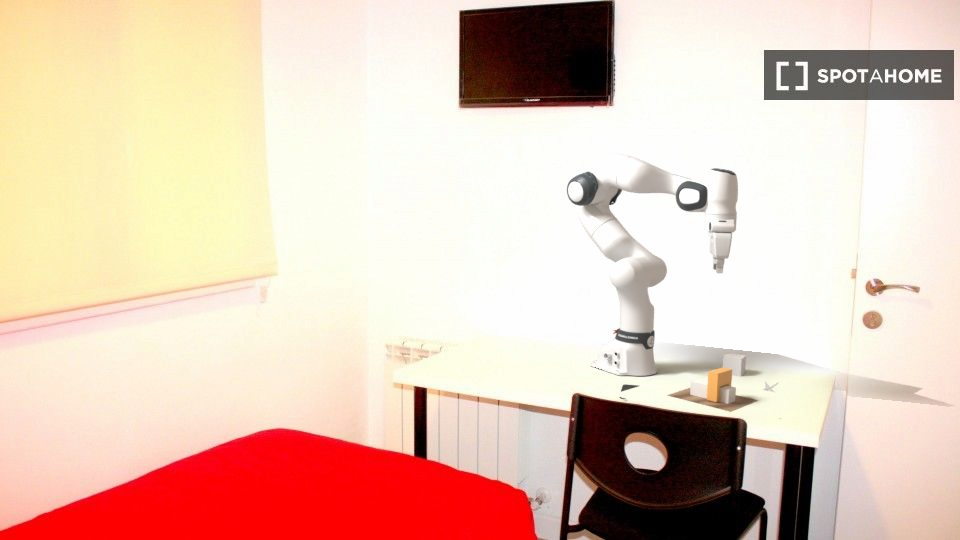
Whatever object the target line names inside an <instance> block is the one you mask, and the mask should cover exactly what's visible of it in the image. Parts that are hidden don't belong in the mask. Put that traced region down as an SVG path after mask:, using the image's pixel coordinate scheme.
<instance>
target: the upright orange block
mask: <svg viewBox="0 0 960 540" xmlns="http://www.w3.org/2000/svg"><path fill="white" fill-rule="evenodd" d="M732 380H733V375H732V369H728V368H724V367H723V366H722V367H719V368H716V369H712V370H710V371H708V372H707V381H708V387H707V400H709V401H713V402H718V401H719V395H720V387H721V386H724V385H727V386H731V387H732Z"/></svg>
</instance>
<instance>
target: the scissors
mask: <svg viewBox="0 0 960 540" xmlns="http://www.w3.org/2000/svg"><path fill="white" fill-rule="evenodd" d="M778 384H779V382H776V383H775V384H772V385H770V386H769V384H768V383H767V382H766V381H764V386H765V387H764V388H763V389H762V391H769V392H771V393H775V391H774V390H773V388H774V387H775V386H777V385H778Z"/></svg>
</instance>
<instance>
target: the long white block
mask: <svg viewBox="0 0 960 540" xmlns="http://www.w3.org/2000/svg"><path fill="white" fill-rule="evenodd" d="M707 387H708V380H705V379H701V378H700V379H699V378H696V379H694V380H691V381H690V388H691V389H690V395H694V396H698V397H702V398H706V399H707ZM736 395H737V387H735V386H732V385H731V386H727V385H724V386H721V387H720V395H719V401H718V402H722V403H726V404H729V403H732V402H735V397H736Z"/></svg>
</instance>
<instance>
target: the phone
mask: <svg viewBox="0 0 960 540" xmlns="http://www.w3.org/2000/svg"><path fill="white" fill-rule="evenodd" d="M638 387H639V385H636V384H627V383H626V384H623V385H622V387H621V389H620V392H621V393H622V392H624V391H628V390H632V389H634V388H638ZM619 398H620V399H621V400H626V398H624V397H622V396H619Z"/></svg>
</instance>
